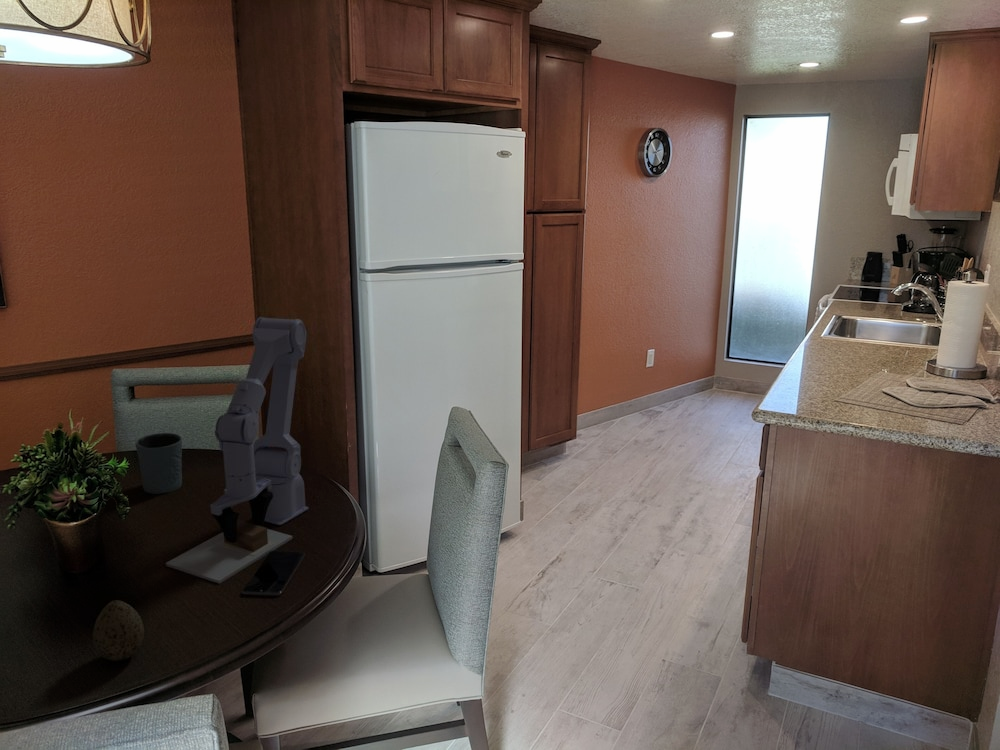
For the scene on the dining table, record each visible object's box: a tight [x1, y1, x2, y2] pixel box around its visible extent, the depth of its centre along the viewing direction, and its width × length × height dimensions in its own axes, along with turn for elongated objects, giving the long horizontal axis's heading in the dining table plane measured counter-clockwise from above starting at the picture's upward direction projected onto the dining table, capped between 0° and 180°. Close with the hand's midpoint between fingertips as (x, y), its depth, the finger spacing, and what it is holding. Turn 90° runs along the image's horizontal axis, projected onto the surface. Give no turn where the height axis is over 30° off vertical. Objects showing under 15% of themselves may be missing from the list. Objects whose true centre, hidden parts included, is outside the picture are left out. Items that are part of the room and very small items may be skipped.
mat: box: [165, 528, 293, 585], centre depth 152 cm, size 20×14×1 cm
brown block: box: [223, 519, 268, 552], centre depth 153 cm, size 8×4×4 cm, turn 63°
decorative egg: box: [92, 599, 145, 662], centre depth 118 cm, size 7×7×10 cm
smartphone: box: [241, 550, 306, 597], centre depth 144 cm, size 7×1×16 cm
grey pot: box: [135, 432, 183, 495], centre depth 180 cm, size 10×10×12 cm
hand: (245, 533), depth 153 cm, fingers open, 7 cm apart
